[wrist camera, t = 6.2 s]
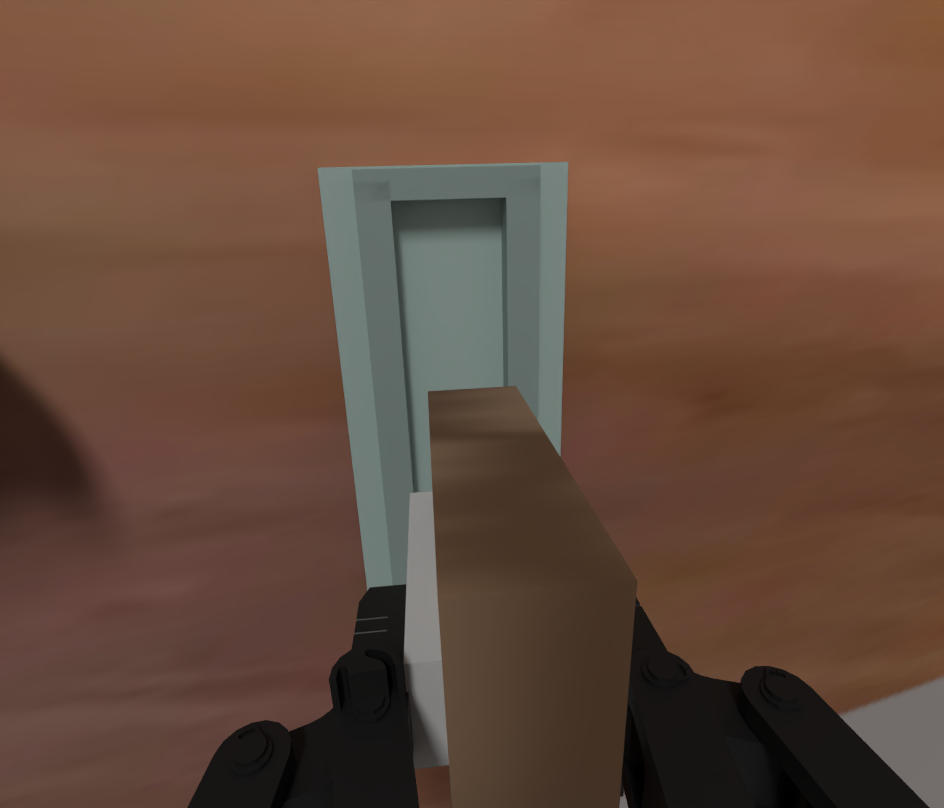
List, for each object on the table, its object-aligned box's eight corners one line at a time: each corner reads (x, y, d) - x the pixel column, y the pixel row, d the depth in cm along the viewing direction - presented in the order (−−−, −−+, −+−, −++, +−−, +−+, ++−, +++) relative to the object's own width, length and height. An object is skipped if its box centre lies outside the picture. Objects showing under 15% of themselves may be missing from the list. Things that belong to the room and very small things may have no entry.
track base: (376, 646, 26) (373, 678, 24) (321, 169, 19) (311, 163, 17) (551, 628, 27) (561, 658, 25) (562, 164, 20) (577, 157, 18)
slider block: (443, 639, 18) (465, 1007, 9) (427, 391, 15) (437, 599, 7) (517, 631, 18) (604, 986, 10) (516, 385, 15) (637, 580, 7)
